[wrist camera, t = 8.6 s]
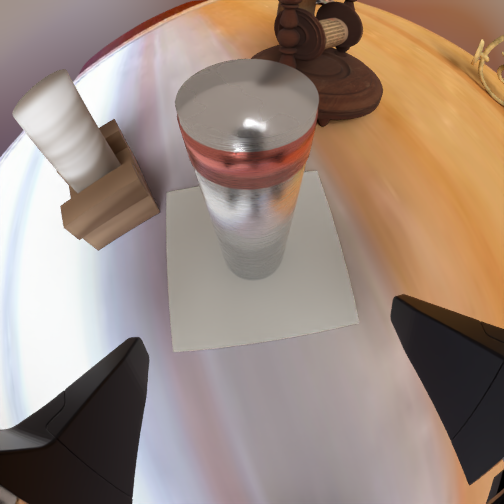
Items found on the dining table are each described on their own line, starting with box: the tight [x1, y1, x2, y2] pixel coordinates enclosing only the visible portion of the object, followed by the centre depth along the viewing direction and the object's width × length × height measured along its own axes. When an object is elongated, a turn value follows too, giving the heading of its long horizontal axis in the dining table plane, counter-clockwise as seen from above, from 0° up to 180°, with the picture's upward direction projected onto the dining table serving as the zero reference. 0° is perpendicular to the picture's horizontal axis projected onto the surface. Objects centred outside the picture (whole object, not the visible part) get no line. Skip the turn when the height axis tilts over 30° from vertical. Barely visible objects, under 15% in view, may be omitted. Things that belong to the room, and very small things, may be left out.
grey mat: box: [166, 171, 359, 352], centre depth 19 cm, size 12×12×1 cm
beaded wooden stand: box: [251, 0, 383, 126], centre depth 17 cm, size 15×15×20 cm
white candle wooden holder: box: [13, 69, 160, 250], centre depth 15 cm, size 8×6×12 cm
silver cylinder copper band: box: [175, 59, 319, 280], centre depth 12 cm, size 4×4×12 cm
